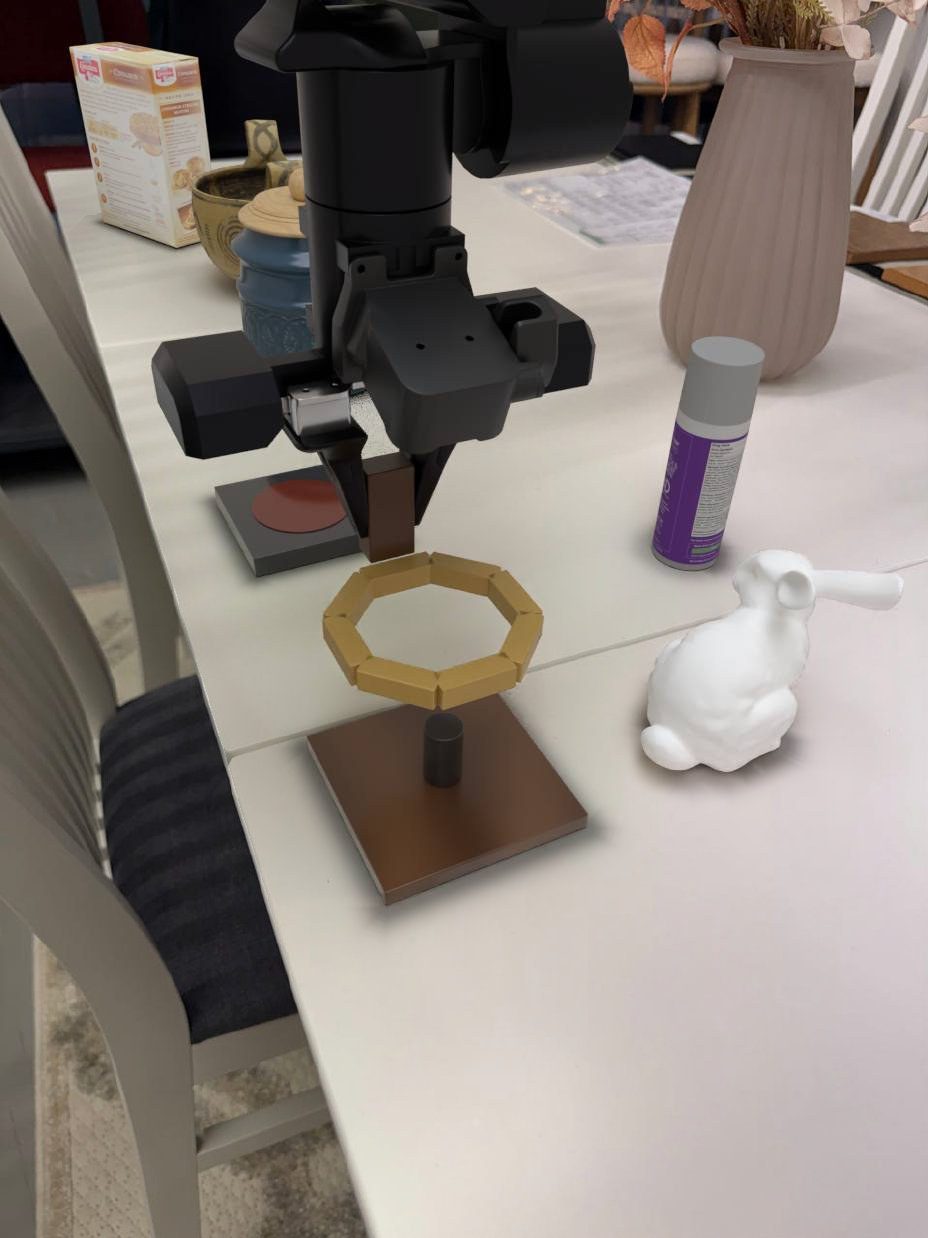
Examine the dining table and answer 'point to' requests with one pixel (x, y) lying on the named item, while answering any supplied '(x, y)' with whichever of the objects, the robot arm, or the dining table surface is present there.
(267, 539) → the stove
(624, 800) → the dining table surface
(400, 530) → the ring
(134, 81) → the coffeecake box
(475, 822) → the brown peg base
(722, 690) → the rabbit
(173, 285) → the dining table surface
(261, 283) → the canister
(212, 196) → the ceramic bowl
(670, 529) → the container
